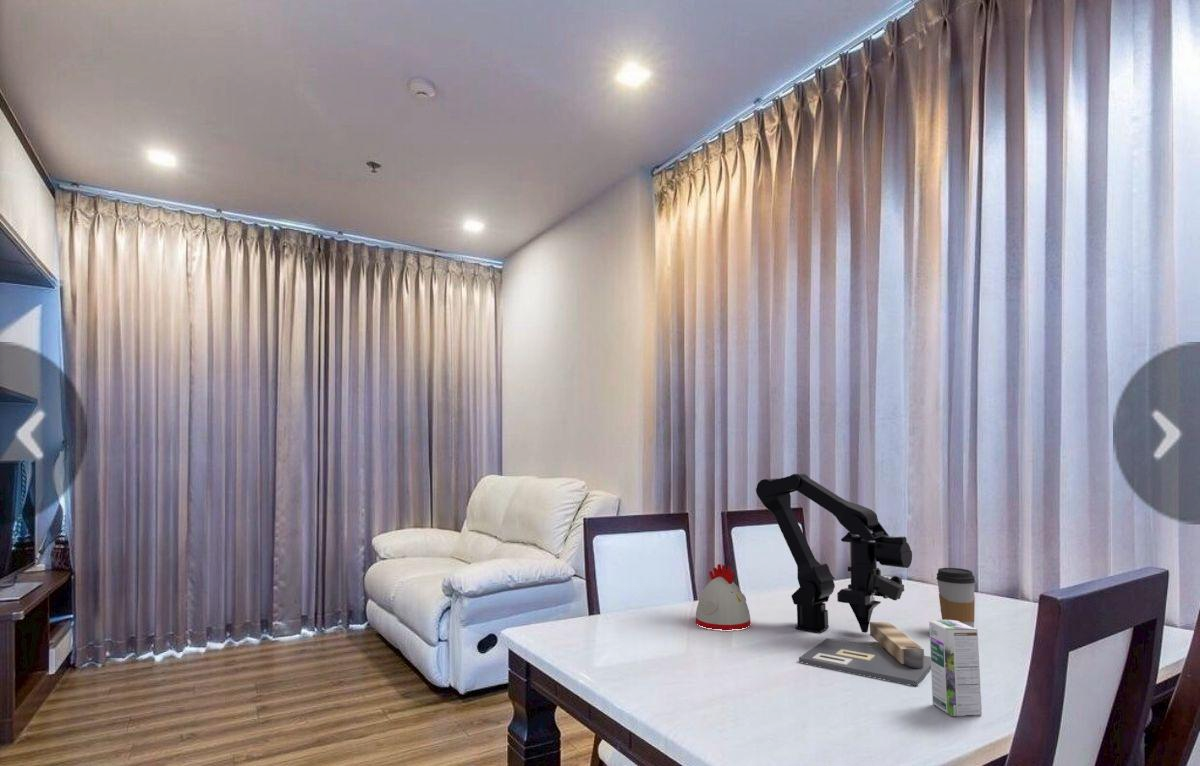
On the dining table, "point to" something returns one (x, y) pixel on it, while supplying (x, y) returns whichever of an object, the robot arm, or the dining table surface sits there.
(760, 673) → the dining table surface
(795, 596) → the robot arm
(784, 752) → the dining table surface
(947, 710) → the syrup box
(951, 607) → the coffee cup
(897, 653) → the swing arm
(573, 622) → the dining table surface
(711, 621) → the kitchen timer
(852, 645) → the label panel
